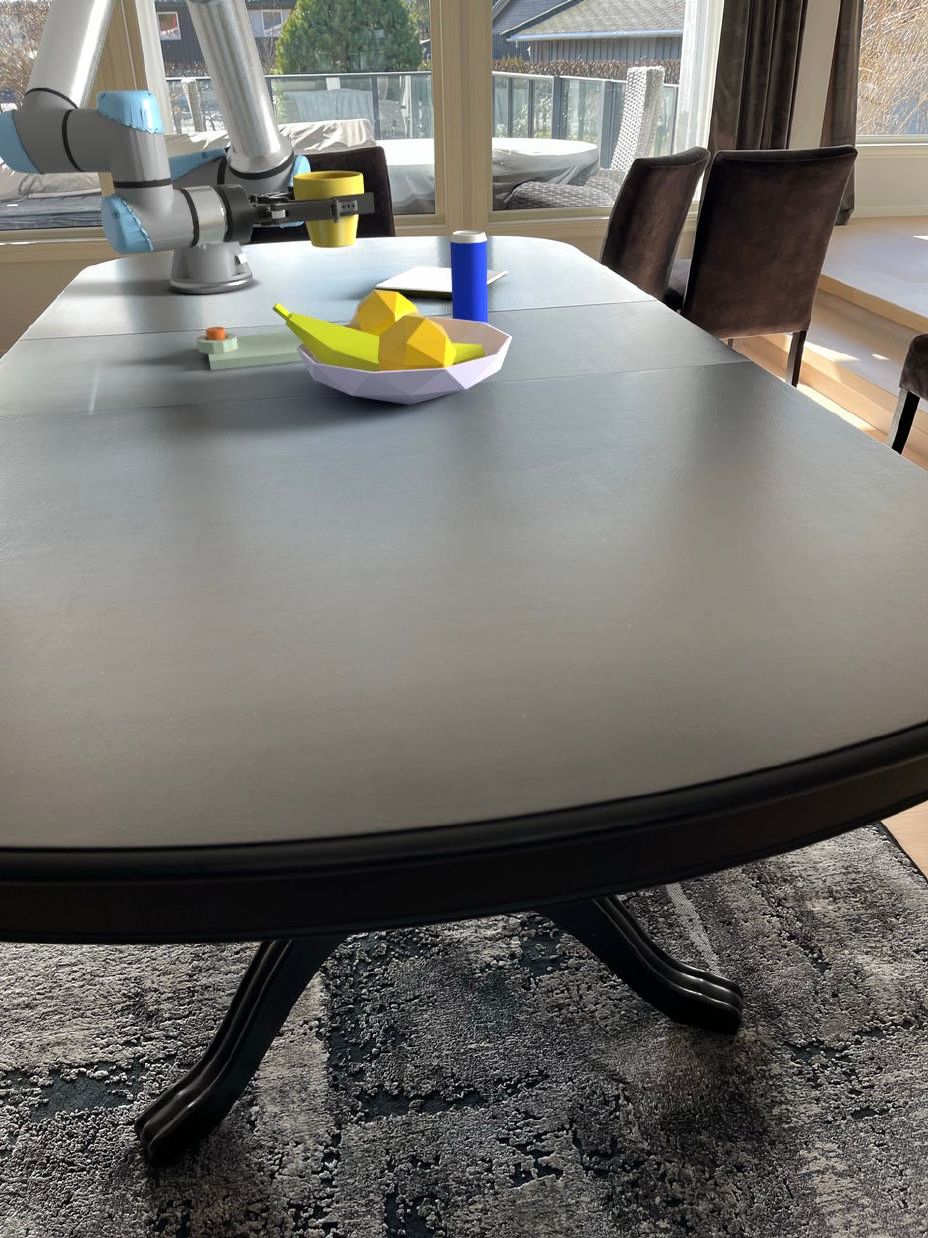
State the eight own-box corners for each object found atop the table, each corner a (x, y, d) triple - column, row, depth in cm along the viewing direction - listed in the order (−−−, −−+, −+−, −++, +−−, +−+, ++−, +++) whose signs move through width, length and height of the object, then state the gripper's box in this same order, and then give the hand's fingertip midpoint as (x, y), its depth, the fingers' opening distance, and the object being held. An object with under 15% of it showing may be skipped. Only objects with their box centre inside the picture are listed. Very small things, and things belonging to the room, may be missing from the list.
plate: (373, 297, 167) (373, 285, 166) (417, 277, 182) (417, 266, 181) (471, 303, 161) (471, 291, 160) (508, 282, 176) (508, 270, 174)
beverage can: (492, 336, 142) (491, 230, 134) (481, 345, 137) (479, 235, 130) (460, 334, 143) (457, 229, 135) (448, 343, 139) (444, 235, 131)
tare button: (207, 338, 135) (205, 327, 134) (225, 336, 136) (223, 325, 135) (207, 342, 133) (205, 331, 132) (226, 341, 134) (224, 330, 133)
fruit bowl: (524, 361, 130) (525, 275, 124) (483, 427, 107) (482, 326, 101) (332, 354, 135) (324, 272, 130) (255, 416, 113) (241, 319, 107)
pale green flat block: (198, 349, 140) (195, 329, 139) (314, 338, 144) (312, 318, 142) (201, 371, 130) (197, 349, 129) (325, 358, 134) (323, 337, 132)
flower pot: (356, 250, 139) (350, 177, 134) (290, 249, 141) (281, 178, 136) (375, 238, 148) (370, 170, 143) (313, 238, 150) (306, 170, 145)
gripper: (191, 234, 143) (321, 218, 153) (255, 252, 126) (395, 233, 137) (182, 179, 139) (316, 167, 150) (247, 191, 123) (392, 177, 134)
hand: (354, 199), depth 144 cm, fingers closed on flower pot, 10 cm apart
